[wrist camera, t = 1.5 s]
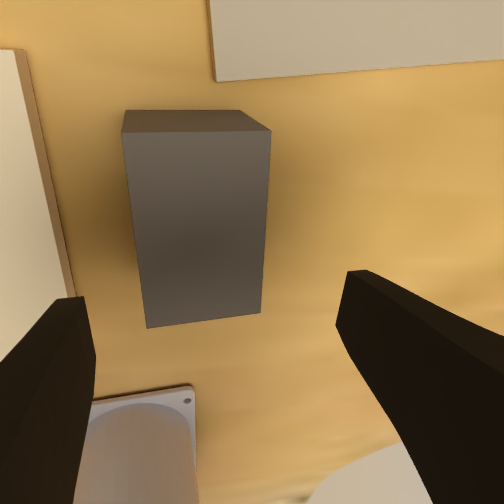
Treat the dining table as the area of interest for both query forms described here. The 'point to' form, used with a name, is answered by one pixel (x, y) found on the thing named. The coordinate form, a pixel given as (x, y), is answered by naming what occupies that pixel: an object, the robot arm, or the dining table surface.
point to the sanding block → (197, 211)
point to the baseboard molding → (348, 35)
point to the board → (26, 210)
